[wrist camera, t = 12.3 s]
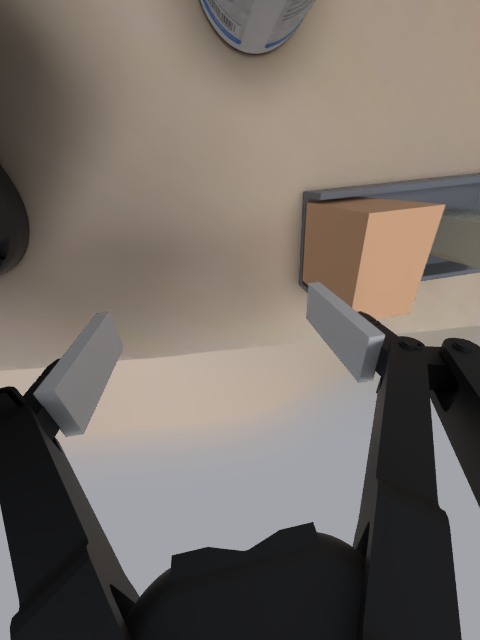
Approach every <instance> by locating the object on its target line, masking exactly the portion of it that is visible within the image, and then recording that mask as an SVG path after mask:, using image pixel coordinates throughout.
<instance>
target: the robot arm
mask: <svg viewBox="0 0 480 640" xmlns="http://www.w3.org/2000/svg"><path fill="white" fill-rule="evenodd" d="M28 239H29V225H28V219H27V214H26V211H25V208H24V205H23V202H22V200H21V198H20V196H19V193H18V192H17V190H16V188H15V186H14V184H13V183H12V181H11V180H10V178H9V177H8V175H7V174H6V172H5V171H4V170H3V168H2V167H1V166H0V275H2V274H4V273H6V272H8V271H9V270H11V269H12V268H13V267H14V266H16V265H17V263H18V262H19V261H20V260H21V258H22V257H23V255H24V253H25V251H26V248H27V244H28ZM306 319H307V320H308V321H309V322H310V324H311V325H312V326H313V327H314V329H315V330H316V331H317V332H318V333H319V335H320V336H321V337H322V338H323V340H324V341H325V342H326V343H327V344H328V346H329V347H330V348H331V349H332V351H333V352H334V353H335V354H336V356H337V357H338V358H339V359H340V361H341V362H342V363H343V364H344V366H345V367H346V368H347V369H348V370H349V371H350V373H351V374H352V375H353V377H354V378H355V379H356V380H357V382H358V383H360V382H365V381H371V380H373V378H374V374H375V371H376V372H377V373H378V374H379V375H380V376H381V378H380V381H379V385H378V388H377V391H376V393H378V394H377V401H376V408H375V414H374V421H373V428H372V434H371V441H370V447H369V454H368V460H367V467H366V474H365V480H364V488H363V494H362V501H361V507H360V514H359V520H358V525H357V529H356V533H355V538H354V543H353V547H352V546H350V545H349V544H347V543H345V542H344V541H342V540H340V539H338V538H335V537H333V536H331V535H327V534H323V533H318V532H316V529H315V526H314V524H313V522H311V523H307V524H303V525H299V526H295V527H291V528H286V529H282V530H279V531H277V532H276V533H274V534H273V535H271V536H270V537H268V538H266V539H265V540H263V541H262V542H260V543H259V544H257V545H255V546H254V547H252V548H251V549H249V550H247V551H238V550H229V549H220V548H212V547H206V548H202V549H198V550H193V551H189V552H185V553H181V554H176V555H172V561H171V568H170V569H168V570H167V571H165V572H164V573H163V574H162V575H160V576H159V577H158V578H157V579H156V580H155V581H154V582H153V583H152V584H151V585H150V586H149V587H148V588H147V589H146V590H145V592H144V593H143V594H142V595H141V596H140V597H139V595H138V594H137V592H136V590H135V589H134V587H133V586H132V584H131V583H130V581H129V580H128V578H127V577H126V575H125V574H124V571H123V569H122V567H121V565H120V563H119V561H118V559H117V557H116V556H115V553H114V551H113V549H112V547H111V545H110V543H109V541H108V539H107V537H106V535H105V533H104V531H103V529H102V527H101V525H100V524H99V521H98V519H97V518H96V515H95V513H94V511H93V509H92V507H91V505H90V503H89V501H88V499H87V498H86V495H85V494H84V491H83V490H82V487H81V485H80V483H79V482H78V480H77V477H76V475H75V474H74V471H73V469H72V467H71V465H70V463H69V462H68V460H67V458H66V456H65V454H64V452H63V450H62V448H61V446H60V444H59V442H58V440H57V439H56V438H55V436H56V434H57V432H58V431H59V429H60V430H61V431H62V432H63V434H64V435H65V437H68V436H74V435H80V434H84V432H85V430H86V428H87V426H88V423H89V421H90V419H91V417H92V415H93V413H94V410H95V408H96V406H97V404H98V401H99V400H100V397H101V395H102V393H103V391H104V389H105V386H106V384H107V382H108V380H109V378H110V376H111V373H112V371H113V369H114V367H115V365H116V362H117V360H118V358H119V356H120V354H121V352H122V349H123V347H124V346H123V344H122V341H121V339H120V337H119V334H118V332H117V329H116V327H115V325H114V322H113V320H112V317H111V315H110V313H109V312H104V313H96V315H95V316H94V317H93V319H92V320H91V321H90V322H89V324H88V325H87V326H86V327H85V329H84V330H83V331H82V333H81V334H80V335H79V336H78V338H77V339H76V340H75V341H74V343H73V344H72V345H71V346H70V348H69V349H68V350H67V352H66V353H65V354H64V355H63V357H62V358H61V359H57V360H56V361H54V362H53V363H52V364H50V365H49V366H48V367H47V368H46V369H45V370H44V372H43V373H42V374H41V376H39V378H38V379H37V380H36V382H34V384H33V385H32V386H31V387H30V388H29V390H28V391H27V392H26V393H25V395H24V396H22V395H21V394H20V393H19V391H18V390H17V389H16V388H15V387H9V386H8V387H4V388H0V505H1V510H2V515H3V521H4V526H5V531H6V536H7V541H8V546H9V551H10V556H11V561H12V567H13V572H14V577H15V581H16V587H17V592H18V597H19V605H20V607H19V611H18V613H17V614H15V616H14V617H13V618H12V621H11V625H10V635H11V636H10V637H11V640H462V639H461V631H460V630H461V629H460V620H459V610H458V600H457V591H456V581H455V572H454V562H453V552H452V543H451V533H450V525H449V520H448V516H447V515H446V512H445V511H444V510H442V509H440V507H439V505H438V497H437V484H436V470H435V458H434V444H433V431H432V419H431V406H430V398H431V400H432V403H433V405H434V407H435V409H436V412H437V414H438V416H439V418H440V420H441V422H442V425H443V427H444V429H445V431H446V434H447V436H448V438H449V440H450V442H451V445H452V447H453V449H454V451H455V454H456V456H457V458H458V460H459V463H460V465H461V467H462V469H463V471H464V474H465V476H466V478H467V480H468V482H469V485H470V487H471V489H472V491H473V494H474V496H475V498H476V500H477V502H478V505H479V506H480V347H479V346H478V345H476V344H474V343H472V342H471V341H468V340H465V339H459V338H448V339H445V340H444V342H443V344H442V346H441V347H428V346H427V347H426V346H425V345H424V344H423V343H422V342H420V341H418V340H416V339H414V338H410V337H404V336H399V337H398V336H397V335H396V334H394V333H393V332H392V331H390V330H389V329H388V328H386V327H385V326H384V325H381V323H380V322H379V321H376V319H375V318H373V317H372V316H371V315H369V314H366V313H364V312H362V311H359V312H356V311H355V310H354V309H353V308H351V307H350V306H349V305H348V304H346V303H345V302H344V301H343V300H341V299H340V298H339V297H338V296H336V295H335V294H334V293H333V292H331V291H330V290H329V289H328V288H326V287H325V286H324V285H323V284H321V283H320V282H315V283H309V284H308V299H307V313H306Z"/></svg>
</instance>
